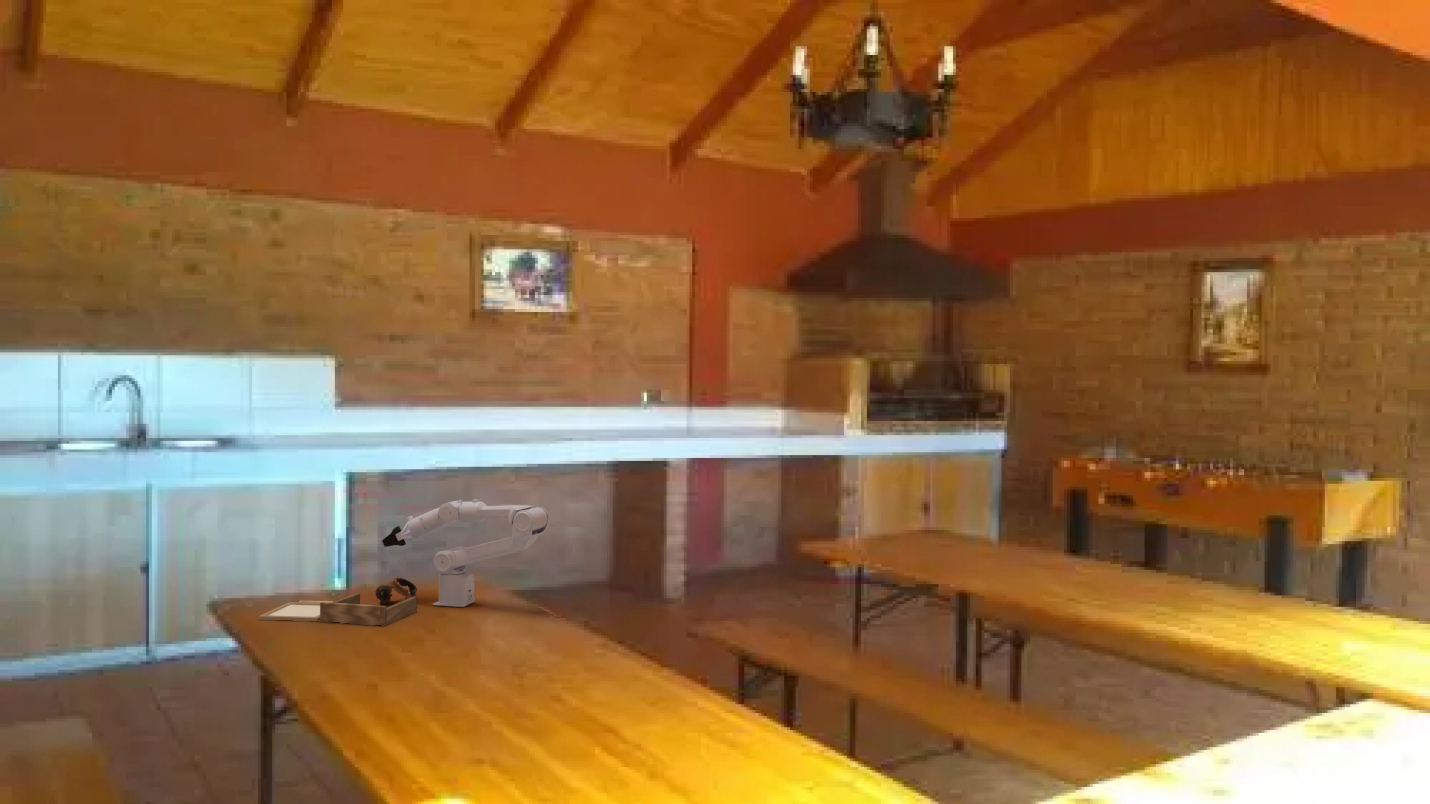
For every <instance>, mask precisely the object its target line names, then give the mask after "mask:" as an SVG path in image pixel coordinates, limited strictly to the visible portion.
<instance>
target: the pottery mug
mask: <svg viewBox="0 0 1430 804" xmlns="http://www.w3.org/2000/svg"><path fill="white" fill-rule="evenodd" d="M406 587H407V588H406ZM393 591H395V592H397V593H398V594H401V595H402V596H403V597H405V600H406V599H409V598H411V597H417V595H416V593H417V592H418V588H417V587H416V585H415V584H414V583H413V582H411V581H410V580H407V579H405V578H401V577H394V579H393V580H392V581H389V582H388V583H386V584H382V585H379V586H378V587H377V588H376V589H375V598H376V599H377V600H379V606H383V605H382V604H388V602H390V601H391V597H393V594H392V592H393Z"/></svg>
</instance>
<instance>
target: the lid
mask: <svg viewBox="0 0 1430 804" xmlns="http://www.w3.org/2000/svg"><path fill="white" fill-rule="evenodd" d="M334 601H335V600H333V601H332V600H331V601H330V600H329V601H328V600H299V601H296V602H295V601H290V602H286V603H284V604H282V605H279V606H277V607H275V608H273V609H271V610H269V611H267V612H265V613H262V614H261V615H258V621H275V620H293V621H292V622H310V621H313V622H314V621H318V622H319V620H320V603H321V602H334ZM313 622H312V623H313ZM310 623H311V622H310ZM314 623H315V622H314Z"/></svg>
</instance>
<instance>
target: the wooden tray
mask: <svg viewBox="0 0 1430 804" xmlns="http://www.w3.org/2000/svg"><path fill="white" fill-rule="evenodd" d="M333 601H334V602H321V603H320V623H330V622H340V623H339V624H344V623H351V624H350V625H358V624H359V625H361V626H373V625H381V626H380V627H386V626H388V625H390V624H392V623H395V622H397V621H399V620H401V619H403V618H405V617H408V616H410V615H413V614H415V613H417V612H416V611H418V597H417V596H416V597H411V598H409V599H406V598H405V599H404V600H401V601H398V602H397V603H395V604H392V605H390V606H387V605H374V604H373V605H372V604H361V592H356V593H353V594H350V595H347V596H345V597H342V598H340V599H337V600H333ZM396 620H397V621H396ZM391 622H392V623H391ZM359 625H358V626H359ZM385 625H386V626H385Z"/></svg>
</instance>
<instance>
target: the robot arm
mask: <svg viewBox="0 0 1430 804" xmlns="http://www.w3.org/2000/svg"><path fill="white" fill-rule="evenodd" d="M487 518H488V519H489V518H490V519H491V518H492V519H507V520H508V522H509V524H510V525H512V530H511V532H512V533H511V536H508V537H504V538H500V539H497V540H492V541H488V542H484V543H481V544H477V545H476V544H475V545H473V546H467V547H464V546H462V545H461V546H455V547H453V548H449V549H446V550H441V551H440V550H439V551H438V552H437V553H436V554H434V557H433V566H434V568H435V570H436V571H437V574H438V601H435V602H433V603H432V605H433V606H441V607H443V606H444V607H455V608H456V607H458V608H459V607H460V608H463V607H467V606H468V605H471V604H473V603H475V602H476V599H475V577H474V574H472V573H468V572H466V569H467V566H469V564H473V563H477V562H481V561H486V560H490V559H494V558H497V557H501V556H506V555H509V554H514V553H518V552H521V551H524V550H527V549H529V548H530V547H531V545H533V544H534V543H535V541H536V540H537V539H538V538H539V537H540V536H541V535H542V534H543V533H545V531H547V528H548V526H549V525H548V524H549V523H550V514H549V512H548V511H547V509H546V508H544V507H543V506H535V507H534V506H533V505H528V504H527V505H525V504H523V505H522V504H510V505H507V504H505V505H487V504H486V503H485V502H483V501H479V499H477V498H476V499H475V498H474V499H472V501H464V499H458V500H454V501H449V502H445V503H442V504H441V505H440V506H439V507H438V508H434V509H431V510H430V511H427V512H425V513H423V514H421V515H418V516H416V517H414V516H413V515H409V516H408V517H406V520H407V522H406V524H405V525H404V526H403V528H402V529H401V527H400V526H399V525H398V526H396V527H394V528H393V529H392V530H391V532H390V533H389V534H387V536H386V537H384V538H383V539H382V540H381V542H382V545H383V547H384V548H387V547H391V546H392V547H394V546H399V547H403V546H405V545H407V543H406V541H405V539H406V540H417V541H418V540H420V539H421V538H422V537H425V536H427V535H429V534H431V533H434V532H436V531H437V530H441V529H443V528H445V527H446V526H447V525H450V524H453V523H456V522H459V523H460V522H461V523H483V522H484V521H485V520H487Z"/></svg>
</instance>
